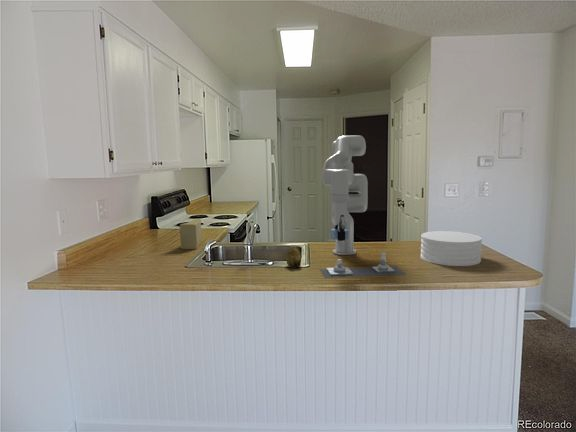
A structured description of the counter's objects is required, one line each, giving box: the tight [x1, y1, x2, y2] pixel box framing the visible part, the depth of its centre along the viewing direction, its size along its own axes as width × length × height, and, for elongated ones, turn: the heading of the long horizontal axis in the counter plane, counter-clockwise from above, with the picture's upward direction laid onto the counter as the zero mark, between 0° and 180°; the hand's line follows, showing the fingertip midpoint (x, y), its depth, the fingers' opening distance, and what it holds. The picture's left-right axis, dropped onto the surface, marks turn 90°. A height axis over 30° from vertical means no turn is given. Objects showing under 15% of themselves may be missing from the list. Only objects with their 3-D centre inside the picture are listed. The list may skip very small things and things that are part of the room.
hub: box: [326, 258, 353, 276], centre depth 178 cm, size 10×10×6 cm
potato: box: [285, 247, 302, 269], centre depth 191 cm, size 8×13×8 cm, turn 170°
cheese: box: [179, 218, 203, 250], centre depth 239 cm, size 22×10×15 cm, turn 174°
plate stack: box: [420, 230, 483, 267], centre depth 199 cm, size 28×28×12 cm
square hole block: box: [330, 228, 348, 240], centre depth 175 cm, size 6×6×4 cm
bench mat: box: [319, 266, 408, 279], centre depth 178 cm, size 13×36×1 cm, turn 95°
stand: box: [371, 252, 395, 273], centre depth 179 cm, size 8×8×8 cm
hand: (339, 238), depth 175 cm, fingers closed on square hole block, 6 cm apart
